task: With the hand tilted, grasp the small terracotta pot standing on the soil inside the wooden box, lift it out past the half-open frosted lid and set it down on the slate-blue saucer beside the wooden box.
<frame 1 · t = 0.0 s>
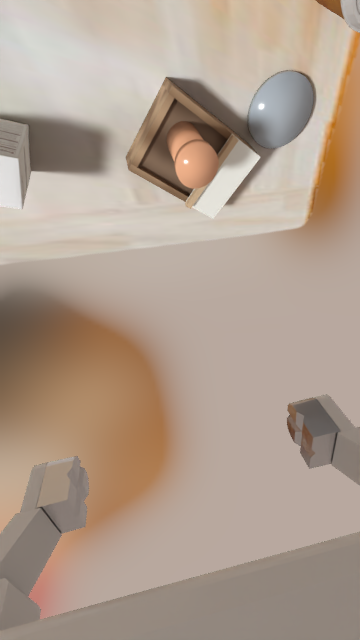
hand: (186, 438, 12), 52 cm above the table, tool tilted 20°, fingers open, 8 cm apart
saucer: (278, 111, 52), on the table
supplement box: (5, 142, 48), on the table
lid panel: (221, 181, 53), on the wooden box, point 5 cm above the table
wooden box: (188, 150, 54), on the table
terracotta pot: (182, 139, 49), point 4 cm above the table, touching wooden box
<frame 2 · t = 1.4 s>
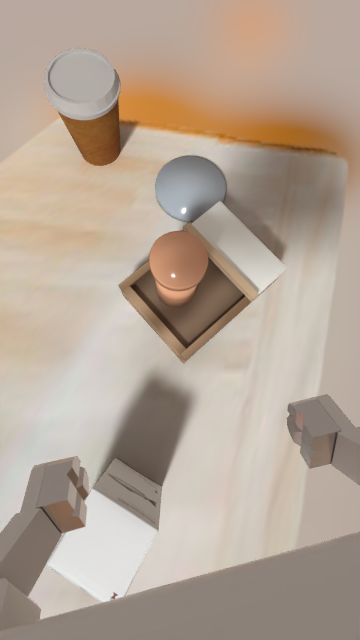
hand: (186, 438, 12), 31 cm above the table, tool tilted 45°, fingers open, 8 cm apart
saucer: (190, 190, 48), on the table
supplement box: (123, 496, 39), on the table
lid panel: (235, 248, 40), on the wooden box, point 5 cm above the table
wooden box: (199, 289, 45), on the table
disposable coffee cup: (100, 149, 50), on the table
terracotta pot: (175, 288, 41), point 4 cm above the table, touching wooden box
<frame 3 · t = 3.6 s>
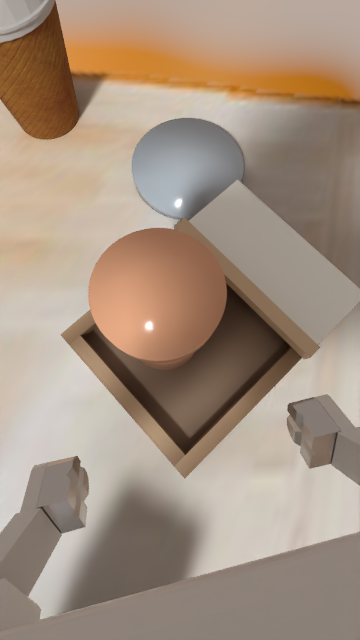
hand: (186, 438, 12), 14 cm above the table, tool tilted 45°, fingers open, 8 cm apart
saucer: (187, 171, 31), on the table
lid panel: (268, 262, 22), on the wooden box, point 5 cm above the table
wooden box: (206, 329, 27), on the table
disposable coffee cup: (49, 116, 33), on the table
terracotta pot: (164, 335, 23), point 4 cm above the table, touching wooden box
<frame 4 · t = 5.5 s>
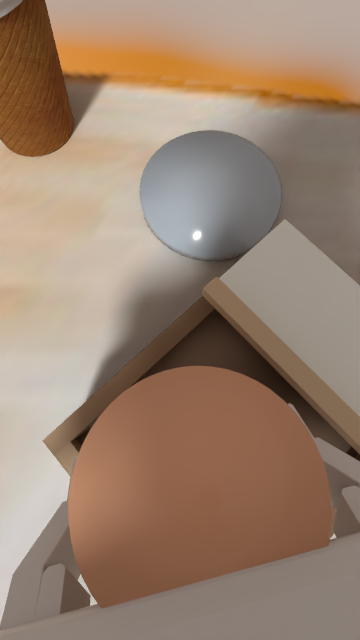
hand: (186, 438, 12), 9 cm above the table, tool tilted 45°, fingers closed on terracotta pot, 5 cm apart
saucer: (209, 197, 25), on the table
lid panel: (333, 338, 16), on the wooden box, point 5 cm above the table
wooden box: (237, 407, 21), on the table
disposable coffee cup: (38, 127, 26), on the table
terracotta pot: (186, 436, 17), point 4 cm above the table, touching wooden box, gripper
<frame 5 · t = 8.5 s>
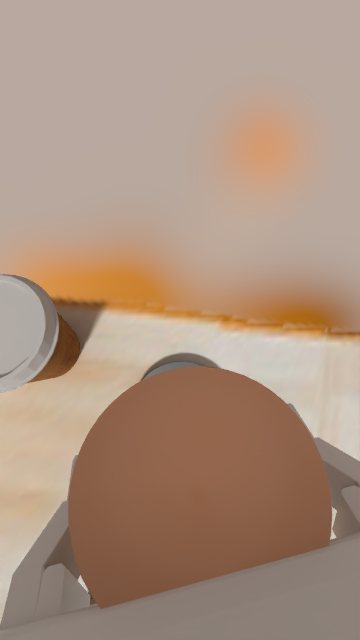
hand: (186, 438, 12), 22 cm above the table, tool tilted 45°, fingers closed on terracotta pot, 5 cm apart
saucer: (181, 413, 33), on the table
disposable coffee cup: (52, 349, 35), on the table
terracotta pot: (186, 436, 17), point 17 cm above the table, touching gripper
when the fingers open (8 cm above the table, at t = 11.4 s): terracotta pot drops 1 cm, resting on saucer.
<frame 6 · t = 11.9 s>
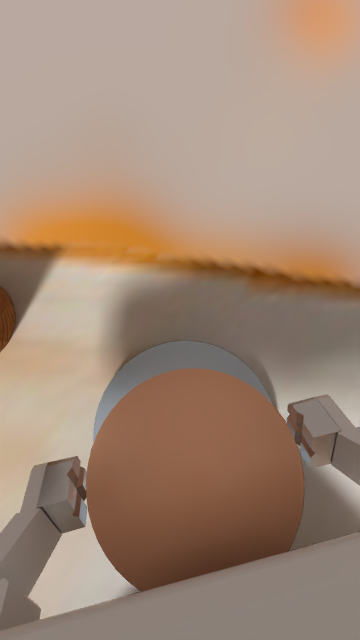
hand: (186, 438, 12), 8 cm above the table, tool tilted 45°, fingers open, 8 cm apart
saucer: (185, 429, 19), on the table
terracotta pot: (186, 432, 18), point 1 cm above the table, touching saucer
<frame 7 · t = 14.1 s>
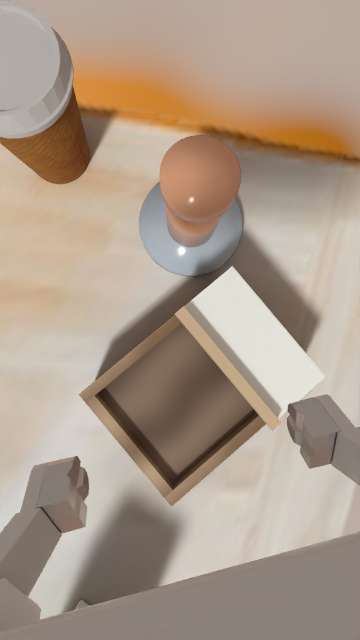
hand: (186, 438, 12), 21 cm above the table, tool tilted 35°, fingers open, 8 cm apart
saucer: (190, 226, 33), on the table
lid panel: (250, 345, 27), on the wooden box, point 5 cm above the table
wooden box: (196, 376, 33), on the table
disposable coffee cup: (61, 157, 34), on the table
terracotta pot: (191, 223, 32), point 1 cm above the table, touching saucer
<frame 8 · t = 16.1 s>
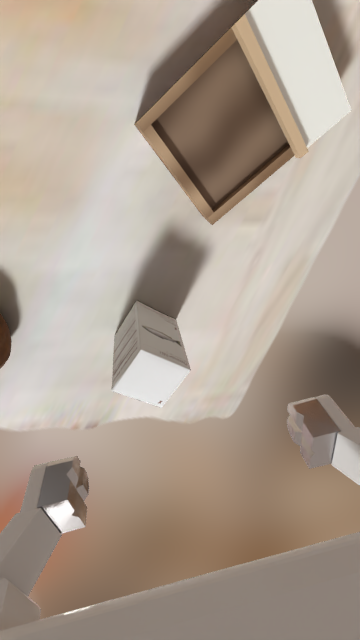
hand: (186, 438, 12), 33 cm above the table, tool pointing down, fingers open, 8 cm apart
supplement box: (144, 326, 48), on the table
lid panel: (297, 72, 29), on the wooden box, point 5 cm above the table
wooden box: (230, 118, 35), on the table
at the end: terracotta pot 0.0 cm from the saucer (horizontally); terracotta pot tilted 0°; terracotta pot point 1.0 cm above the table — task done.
